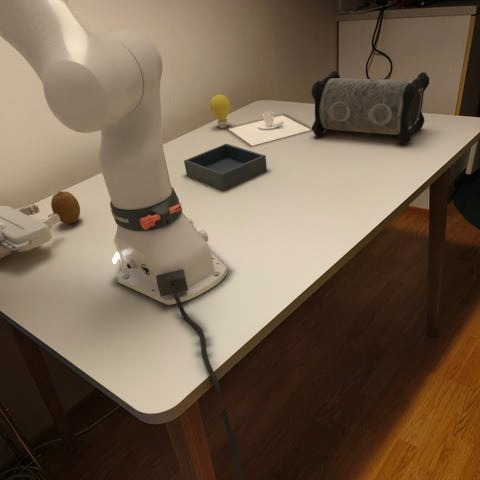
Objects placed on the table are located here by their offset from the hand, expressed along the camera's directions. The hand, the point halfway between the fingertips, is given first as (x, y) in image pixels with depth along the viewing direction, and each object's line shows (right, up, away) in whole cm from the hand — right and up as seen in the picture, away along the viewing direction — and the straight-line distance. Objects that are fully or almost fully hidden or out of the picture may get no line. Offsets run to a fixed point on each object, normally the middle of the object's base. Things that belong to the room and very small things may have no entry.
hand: (47, 212), depth 104 cm
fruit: (+4, -1, +6) cm, 7 cm away
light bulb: (+39, +40, +48) cm, 74 cm away
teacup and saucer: (+53, +36, +41) cm, 76 cm away
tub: (+41, +15, +18) cm, 47 cm away
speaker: (+81, +29, +27) cm, 90 cm away
